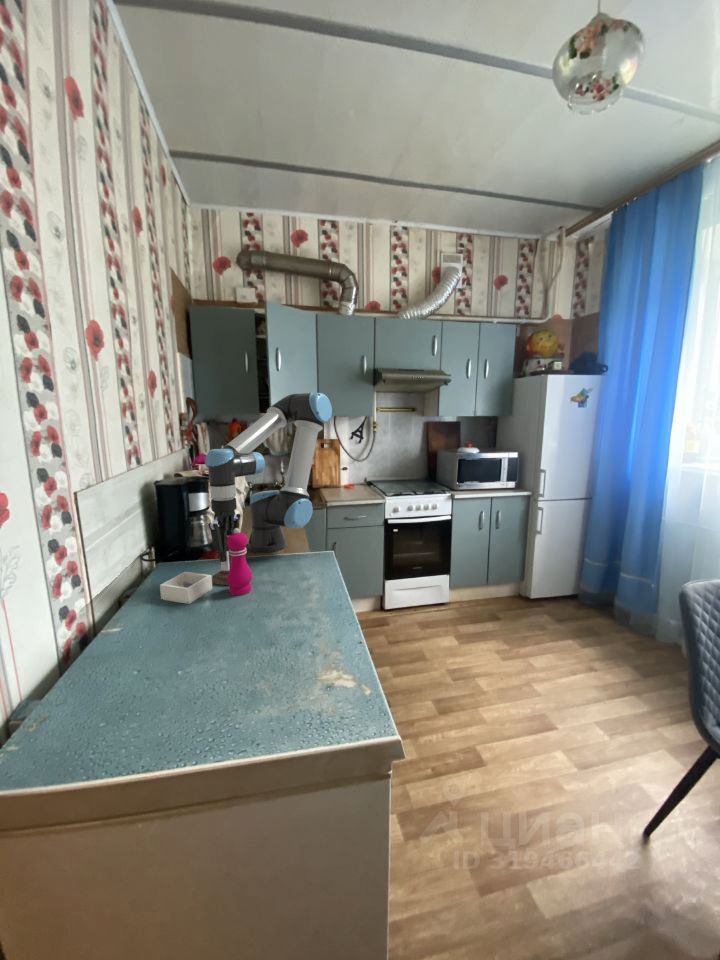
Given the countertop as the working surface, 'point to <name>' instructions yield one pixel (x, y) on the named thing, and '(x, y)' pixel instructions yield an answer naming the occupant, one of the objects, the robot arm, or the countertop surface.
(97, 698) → the countertop surface
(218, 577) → the holder
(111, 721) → the countertop surface
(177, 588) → the white storage tray
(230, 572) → the pepper mill
